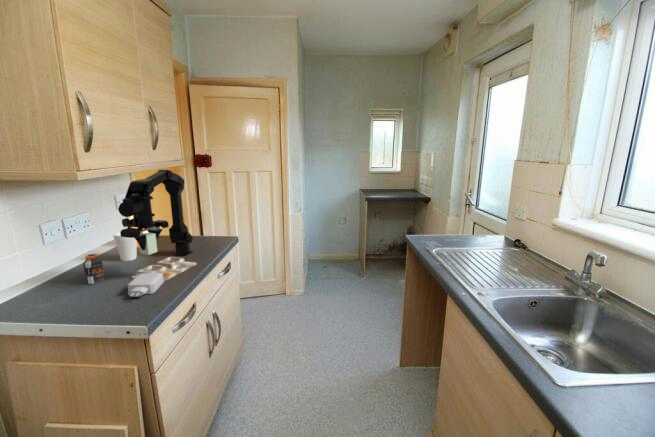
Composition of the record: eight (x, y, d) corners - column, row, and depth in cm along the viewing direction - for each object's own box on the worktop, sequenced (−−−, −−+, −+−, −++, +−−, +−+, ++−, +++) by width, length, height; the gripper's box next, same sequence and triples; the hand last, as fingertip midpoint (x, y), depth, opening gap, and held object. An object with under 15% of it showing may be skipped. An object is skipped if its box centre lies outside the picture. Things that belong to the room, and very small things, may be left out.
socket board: (170, 260, 147) (169, 255, 146) (196, 264, 143) (196, 258, 142) (131, 278, 127) (131, 272, 126) (161, 283, 123) (160, 276, 122)
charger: (120, 303, 108) (139, 284, 122) (148, 301, 109) (163, 283, 123) (118, 290, 106) (137, 273, 121) (146, 289, 108) (162, 272, 122)
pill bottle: (95, 285, 121) (90, 258, 118) (82, 283, 122) (77, 257, 119) (108, 278, 126) (104, 253, 124) (96, 277, 128) (91, 252, 125)
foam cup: (132, 254, 155) (129, 229, 152) (144, 257, 152) (140, 231, 148) (113, 260, 147) (108, 234, 144) (124, 263, 143) (120, 236, 140)
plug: (149, 250, 131) (146, 232, 129) (157, 251, 130) (155, 233, 128) (140, 253, 127) (137, 235, 125) (148, 255, 126) (146, 236, 124)
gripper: (147, 206, 135) (151, 240, 139) (106, 214, 118) (112, 253, 121) (167, 208, 132) (171, 242, 136) (129, 217, 115) (134, 256, 118)
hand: (148, 248), depth 128 cm, fingers closed on plug, 4 cm apart
